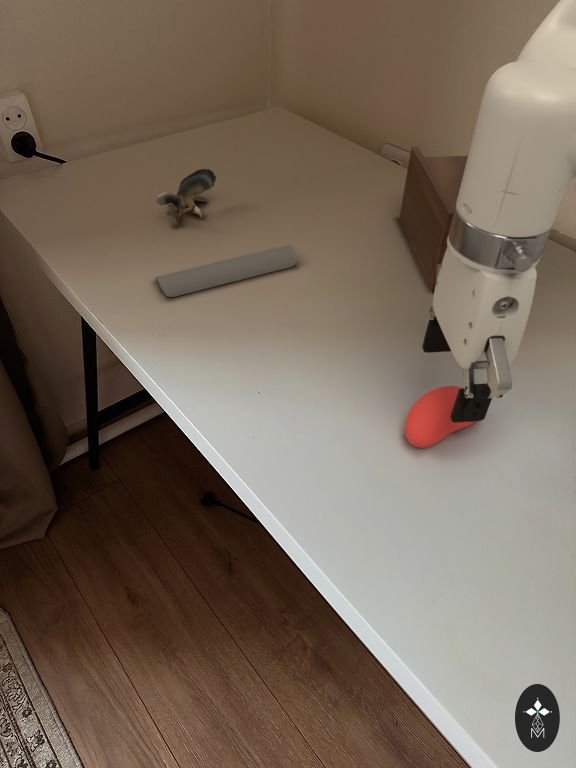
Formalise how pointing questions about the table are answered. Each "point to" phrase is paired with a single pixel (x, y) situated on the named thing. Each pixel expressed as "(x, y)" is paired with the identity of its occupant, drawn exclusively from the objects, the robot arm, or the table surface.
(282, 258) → the gray half cylinder
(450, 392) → the stress ball
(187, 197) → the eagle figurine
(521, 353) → the table surface
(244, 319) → the table surface
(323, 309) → the table surface
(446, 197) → the wooden box with backboard
